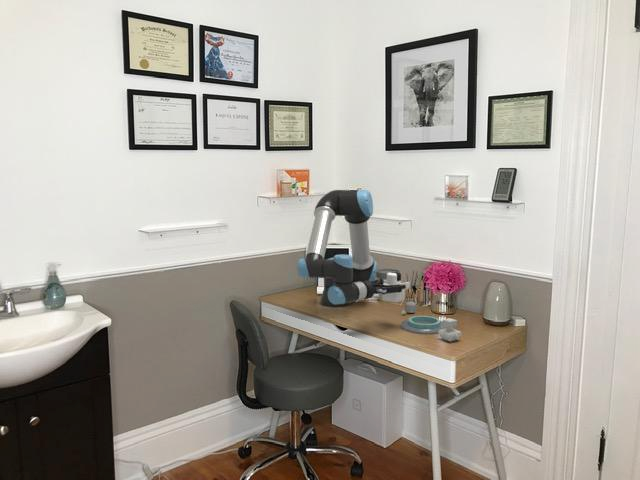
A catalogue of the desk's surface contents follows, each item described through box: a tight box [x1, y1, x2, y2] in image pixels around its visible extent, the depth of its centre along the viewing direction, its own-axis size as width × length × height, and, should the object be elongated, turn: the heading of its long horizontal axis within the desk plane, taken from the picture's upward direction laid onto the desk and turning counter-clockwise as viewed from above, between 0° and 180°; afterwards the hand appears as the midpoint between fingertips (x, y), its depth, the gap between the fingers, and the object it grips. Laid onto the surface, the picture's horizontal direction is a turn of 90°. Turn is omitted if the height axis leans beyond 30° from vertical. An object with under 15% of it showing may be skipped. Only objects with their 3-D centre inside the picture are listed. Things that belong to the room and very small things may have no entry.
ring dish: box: [400, 315, 447, 335], centre depth 232 cm, size 20×20×3 cm
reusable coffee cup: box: [375, 268, 401, 303], centre depth 279 cm, size 13×13×15 cm
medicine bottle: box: [382, 272, 406, 303], centre depth 232 cm, size 7×7×12 cm
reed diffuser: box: [400, 270, 419, 316], centre depth 252 cm, size 10×7×20 cm
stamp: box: [437, 317, 463, 342], centre depth 215 cm, size 9×7×8 cm
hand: (401, 283), depth 235 cm, fingers closed on medicine bottle, 8 cm apart
